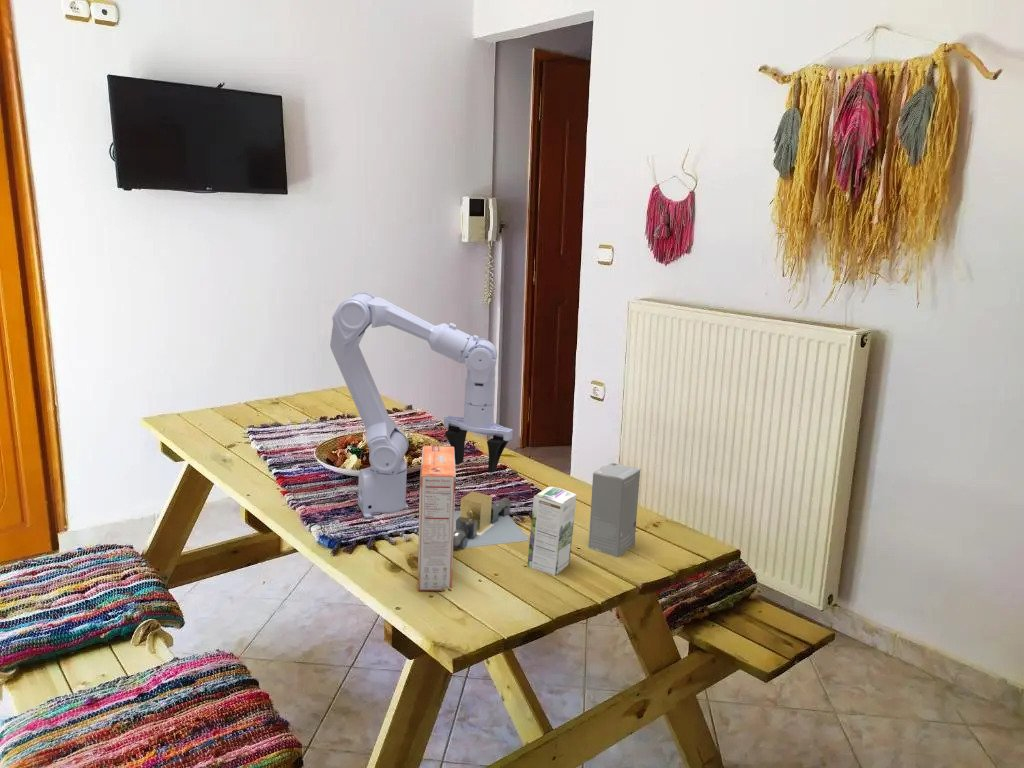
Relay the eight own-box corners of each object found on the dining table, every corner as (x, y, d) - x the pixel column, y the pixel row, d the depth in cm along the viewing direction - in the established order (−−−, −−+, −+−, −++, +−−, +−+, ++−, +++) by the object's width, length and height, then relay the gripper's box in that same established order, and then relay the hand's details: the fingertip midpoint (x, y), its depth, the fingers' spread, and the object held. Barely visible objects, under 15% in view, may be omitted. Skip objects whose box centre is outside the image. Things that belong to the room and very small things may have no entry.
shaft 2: (492, 523, 157) (493, 508, 157) (477, 518, 159) (478, 503, 158) (513, 512, 163) (514, 497, 163) (499, 507, 165) (499, 493, 164)
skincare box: (618, 561, 147) (626, 481, 143) (583, 550, 151) (590, 471, 147) (636, 545, 154) (645, 468, 150) (603, 534, 158) (610, 459, 154)
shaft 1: (459, 532, 153) (459, 516, 152) (476, 535, 152) (477, 520, 151) (443, 547, 146) (444, 531, 145) (461, 551, 145) (462, 535, 144)
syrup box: (541, 558, 146) (547, 484, 143) (570, 567, 143) (577, 492, 140) (526, 570, 141) (532, 494, 138) (556, 580, 139) (562, 502, 135)
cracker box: (417, 553, 145) (421, 444, 140) (451, 553, 146) (456, 445, 141) (415, 592, 132) (419, 473, 126) (451, 592, 132) (457, 474, 127)
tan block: (478, 533, 152) (480, 504, 151) (458, 528, 154) (459, 499, 153) (491, 524, 157) (492, 495, 155) (471, 518, 159) (473, 490, 157)
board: (449, 553, 146) (449, 548, 146) (426, 517, 160) (426, 513, 160) (530, 544, 152) (530, 539, 151) (501, 510, 166) (501, 506, 166)
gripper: (521, 404, 157) (516, 469, 161) (457, 391, 163) (454, 454, 167) (504, 412, 151) (500, 479, 154) (439, 398, 157) (436, 463, 160)
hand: (475, 467), depth 160 cm, fingers open, 7 cm apart
